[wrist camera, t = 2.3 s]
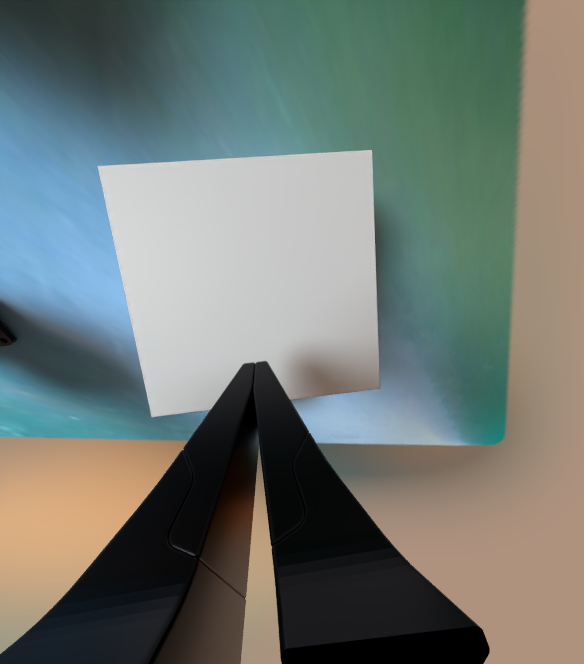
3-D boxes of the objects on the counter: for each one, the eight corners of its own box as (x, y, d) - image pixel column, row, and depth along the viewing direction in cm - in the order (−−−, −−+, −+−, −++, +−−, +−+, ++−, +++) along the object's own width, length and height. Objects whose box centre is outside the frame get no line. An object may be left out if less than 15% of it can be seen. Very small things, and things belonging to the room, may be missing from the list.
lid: (162, 407, 12) (151, 417, 11) (115, 179, 10) (97, 165, 9) (371, 381, 13) (379, 388, 12) (363, 163, 11) (372, 150, 10)
